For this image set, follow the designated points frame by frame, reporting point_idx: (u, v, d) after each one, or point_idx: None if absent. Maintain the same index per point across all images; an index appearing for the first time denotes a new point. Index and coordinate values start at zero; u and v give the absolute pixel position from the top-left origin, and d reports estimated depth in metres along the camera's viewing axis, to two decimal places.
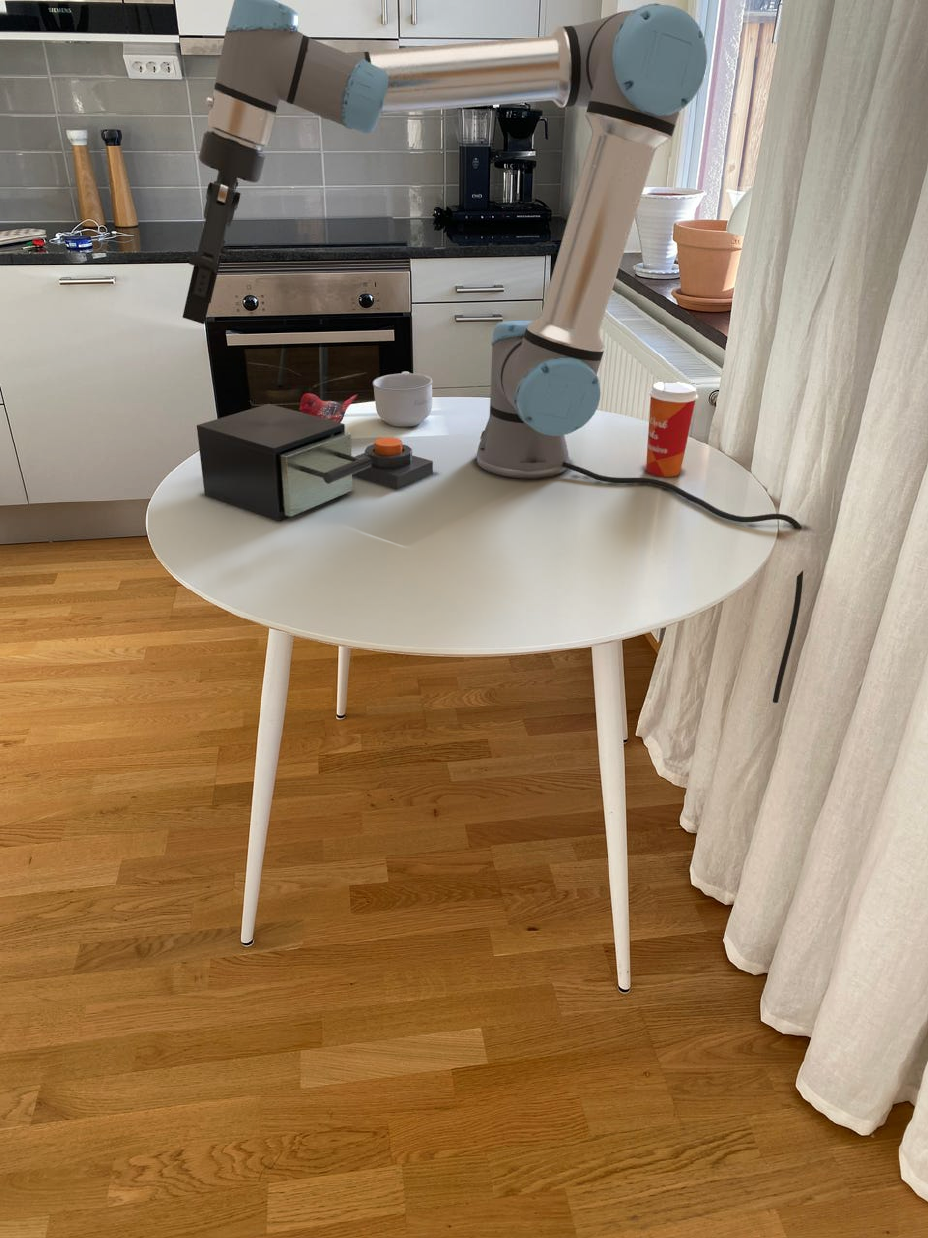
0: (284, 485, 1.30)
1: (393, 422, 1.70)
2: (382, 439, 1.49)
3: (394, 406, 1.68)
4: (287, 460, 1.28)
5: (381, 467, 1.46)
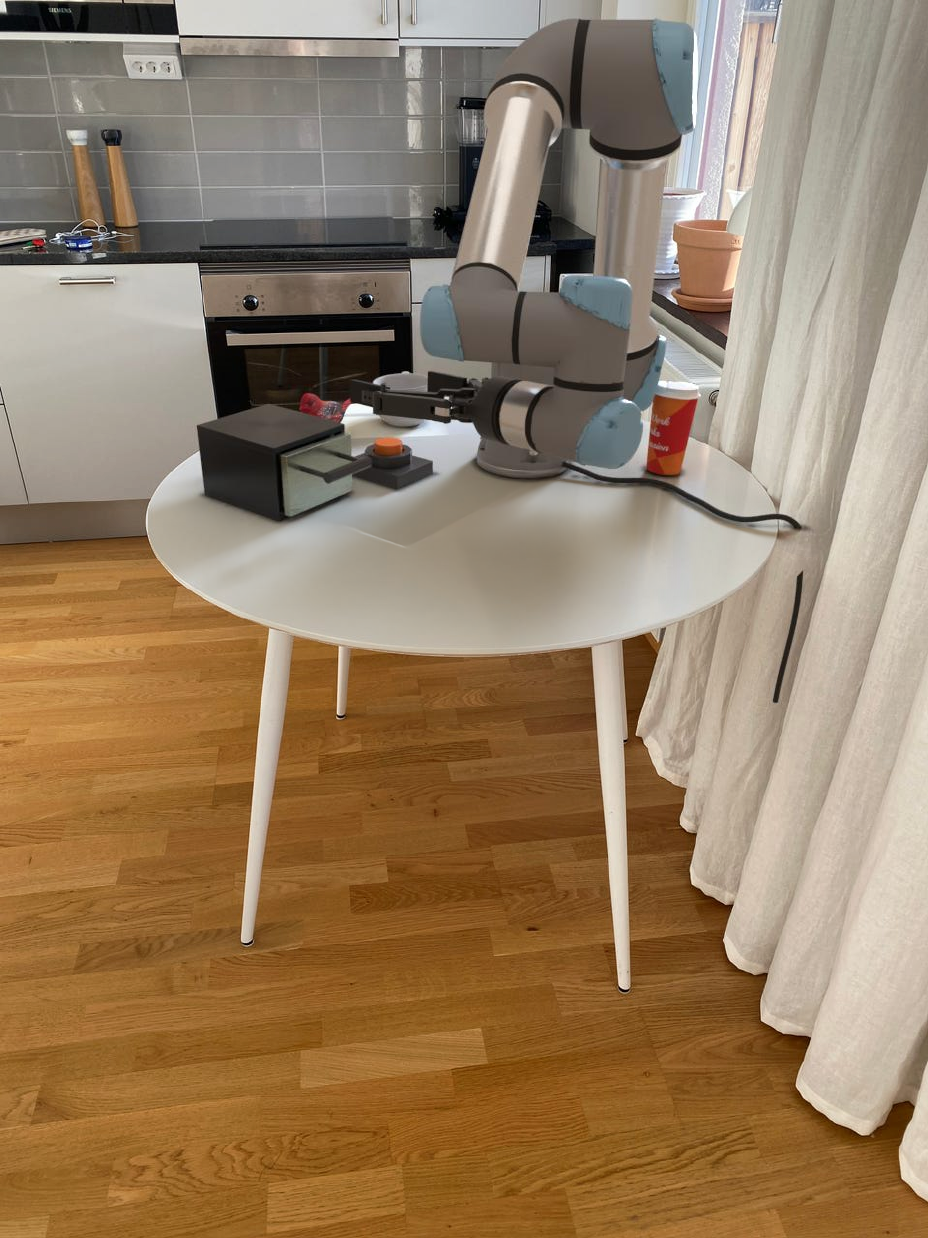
0: (284, 485, 1.30)
1: (393, 422, 1.70)
2: (382, 439, 1.49)
3: None
4: (287, 460, 1.28)
5: (381, 467, 1.46)
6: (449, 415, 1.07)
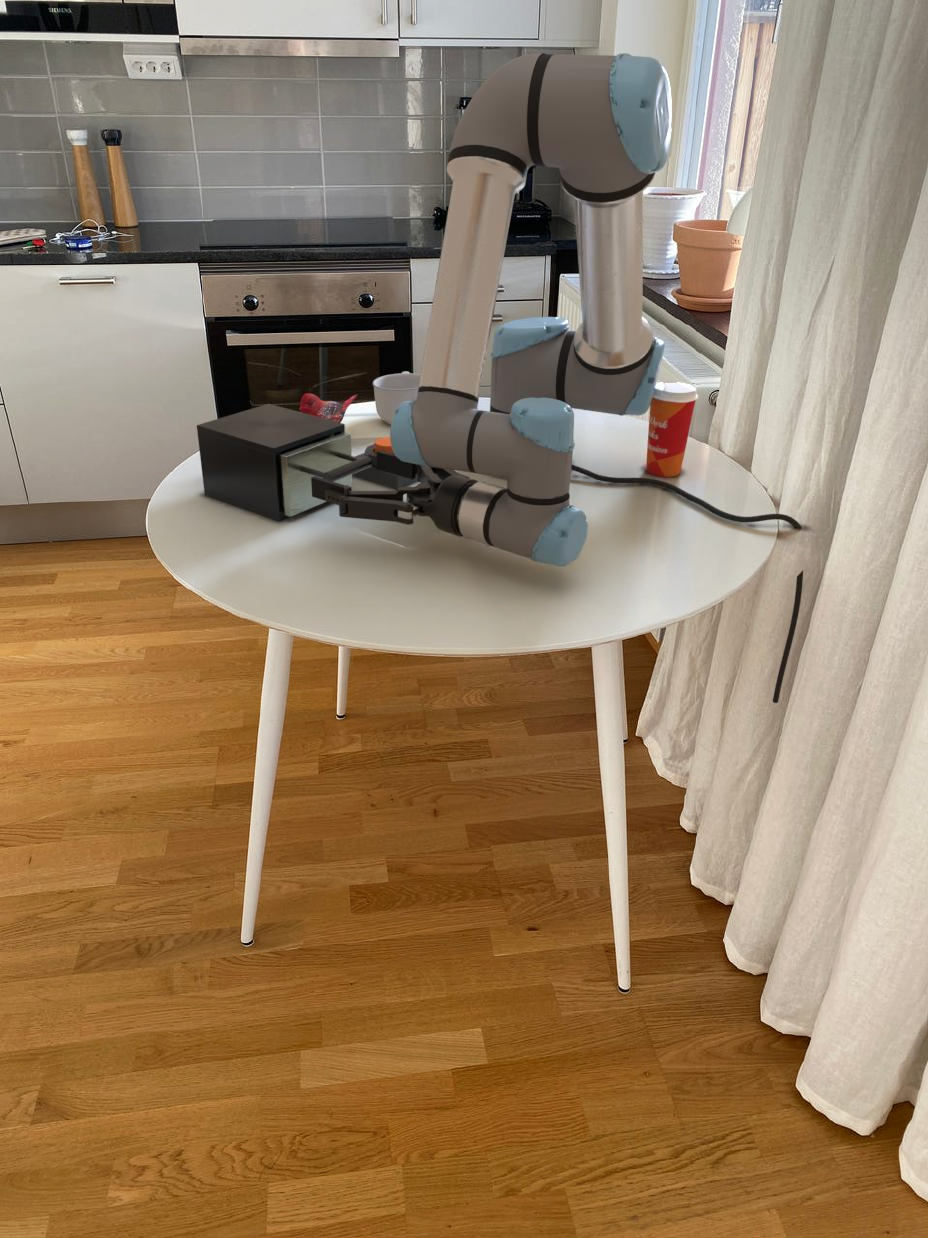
0: (284, 485, 1.30)
1: None
2: (382, 439, 1.49)
3: (394, 406, 1.68)
4: (287, 460, 1.28)
5: None
6: (412, 517, 1.18)
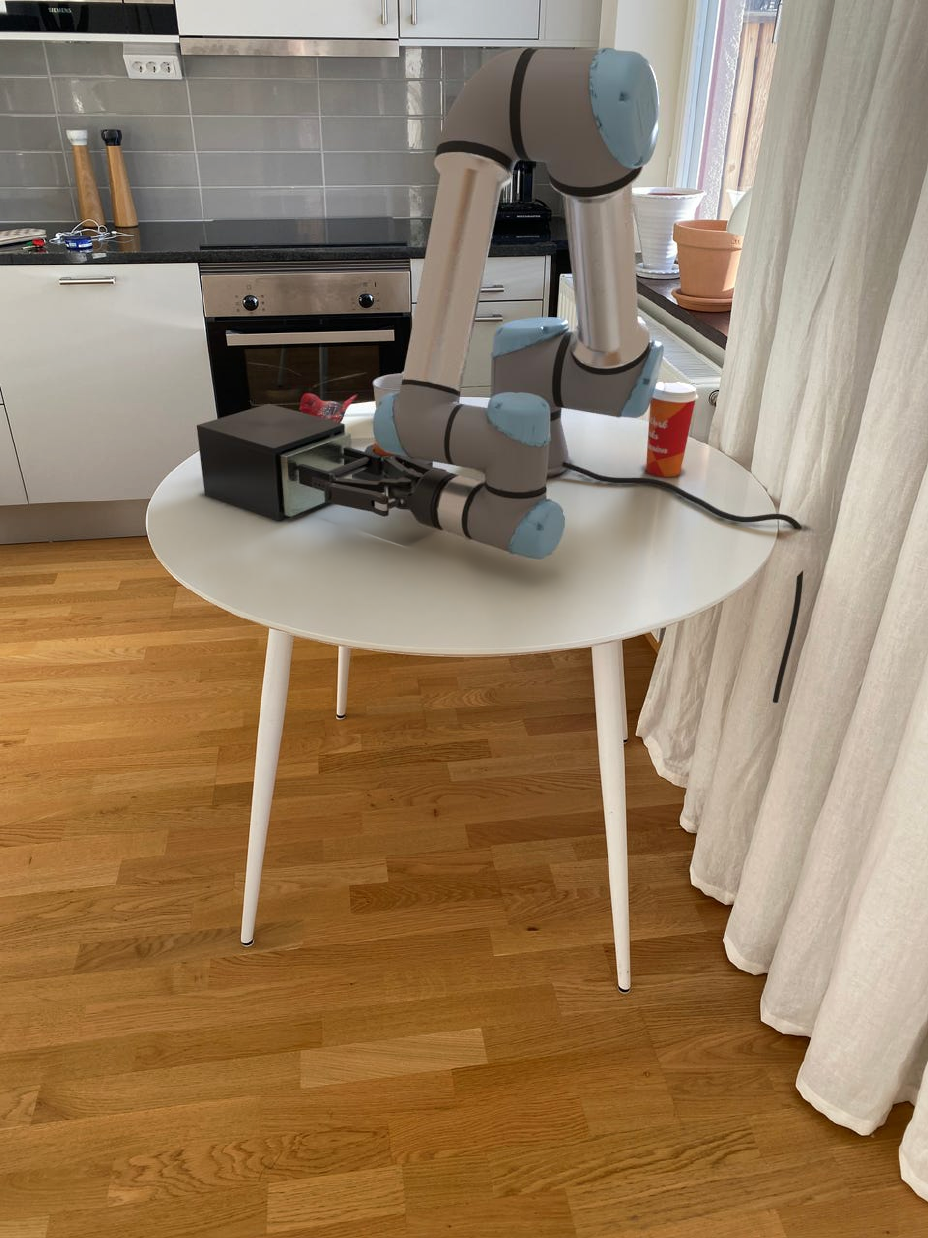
0: (284, 485, 1.30)
1: None
2: None
3: None
4: (287, 460, 1.28)
5: None
6: (386, 509, 1.20)
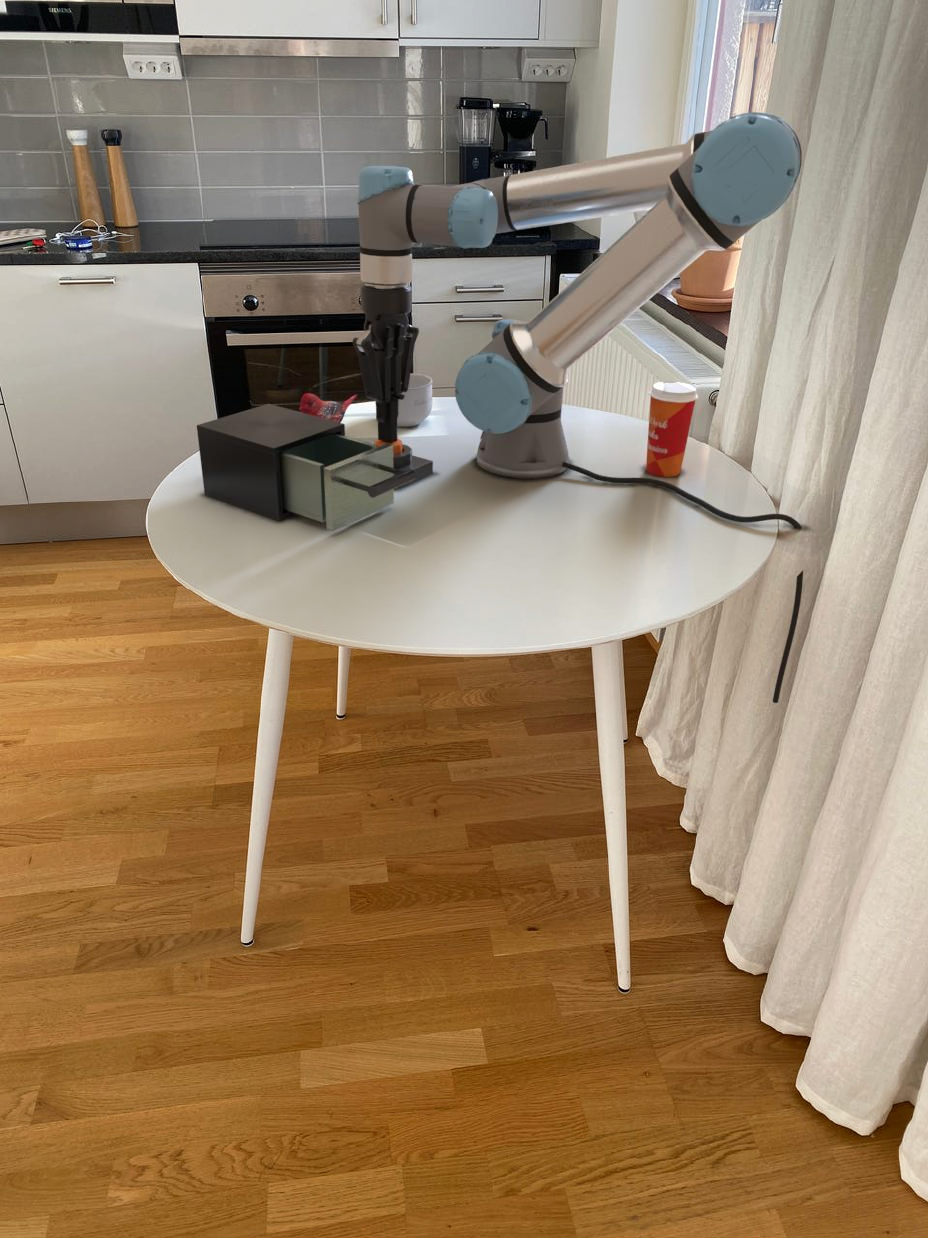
0: (327, 499, 1.26)
1: None
2: None
3: None
4: (330, 473, 1.24)
5: None
6: None
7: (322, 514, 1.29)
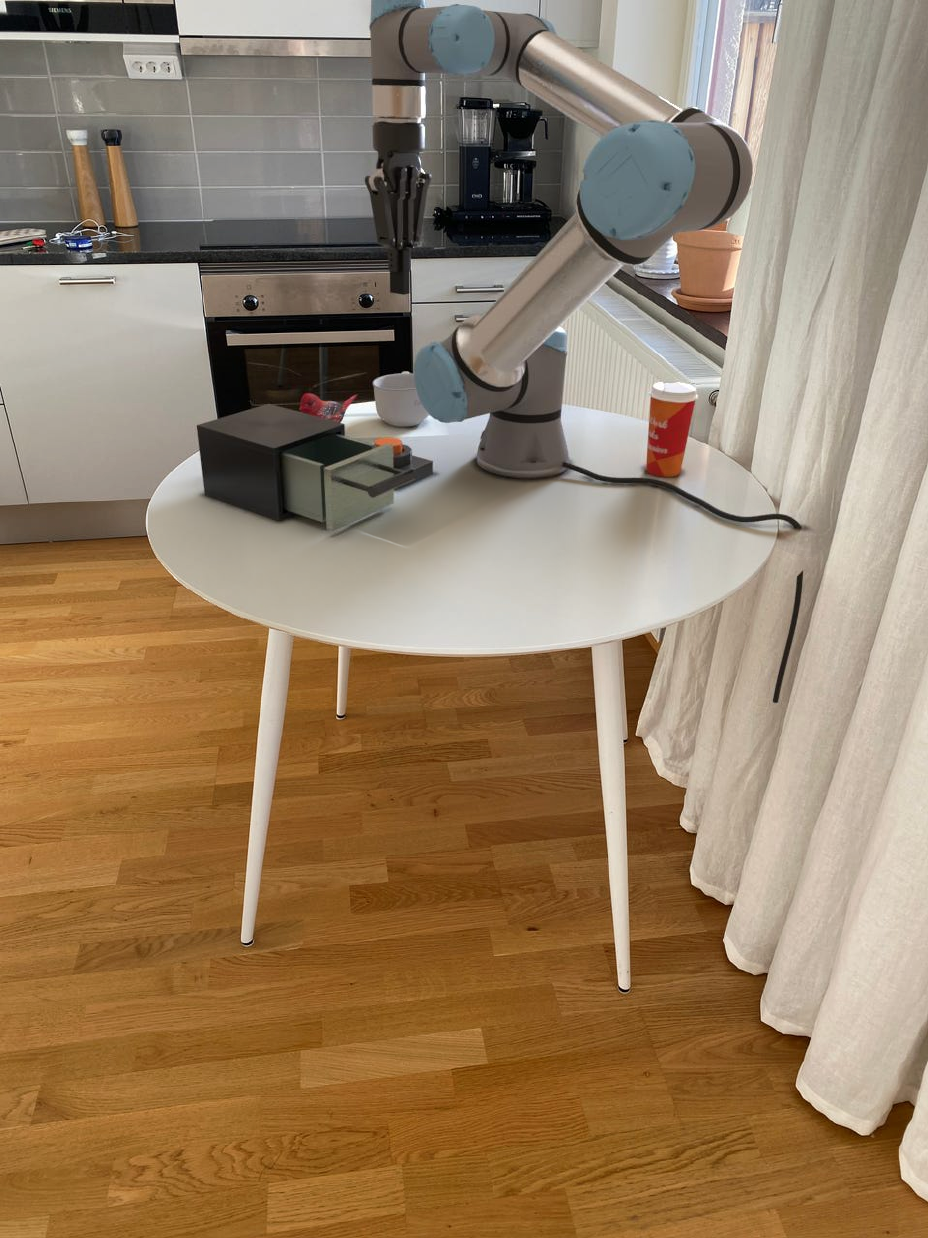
0: (327, 499, 1.26)
1: (393, 422, 1.70)
2: (382, 439, 1.49)
3: (394, 406, 1.68)
4: (330, 473, 1.24)
5: None
6: None
7: (322, 514, 1.29)
